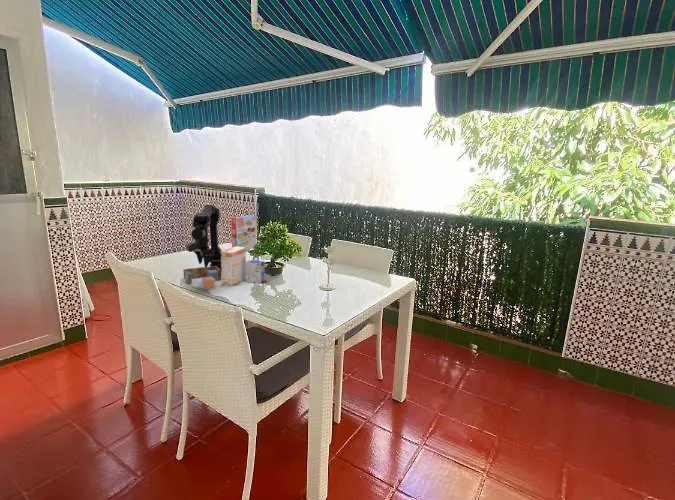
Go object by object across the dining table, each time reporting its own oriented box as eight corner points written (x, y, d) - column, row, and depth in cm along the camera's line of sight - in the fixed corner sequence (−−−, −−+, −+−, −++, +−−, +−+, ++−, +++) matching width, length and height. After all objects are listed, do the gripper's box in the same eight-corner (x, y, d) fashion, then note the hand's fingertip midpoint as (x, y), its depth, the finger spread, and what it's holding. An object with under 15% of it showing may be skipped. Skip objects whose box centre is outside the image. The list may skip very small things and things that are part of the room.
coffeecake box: (236, 277, 228) (235, 246, 223) (246, 279, 225) (246, 247, 221) (221, 284, 214) (220, 250, 210) (231, 286, 212) (231, 252, 207)
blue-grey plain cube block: (215, 277, 226) (215, 269, 225) (218, 280, 221) (218, 272, 220) (207, 278, 223) (206, 270, 222) (210, 281, 218) (209, 273, 217)
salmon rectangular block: (211, 284, 212) (211, 276, 211) (214, 288, 207) (214, 279, 206) (202, 286, 209) (202, 277, 208) (205, 289, 204) (205, 280, 203)
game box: (252, 248, 306) (252, 215, 300) (256, 249, 303) (256, 215, 297) (231, 252, 290) (231, 217, 284) (236, 253, 287) (235, 218, 281)
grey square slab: (189, 280, 218) (188, 271, 216) (192, 283, 212) (191, 273, 211) (185, 280, 216) (184, 271, 215) (187, 283, 211) (187, 274, 210)
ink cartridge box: (264, 280, 223) (265, 257, 220) (261, 283, 218) (261, 259, 215) (249, 279, 225) (249, 255, 222) (245, 281, 220) (245, 257, 217)
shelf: (216, 275, 230) (215, 265, 229) (221, 279, 222) (221, 270, 220) (183, 279, 220) (183, 269, 218) (187, 284, 211) (187, 273, 210)
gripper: (181, 235, 204) (182, 263, 207) (192, 240, 190) (193, 270, 192) (202, 234, 211) (202, 261, 214) (214, 239, 197) (214, 268, 199)
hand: (203, 265), depth 205 cm, fingers open, 9 cm apart
